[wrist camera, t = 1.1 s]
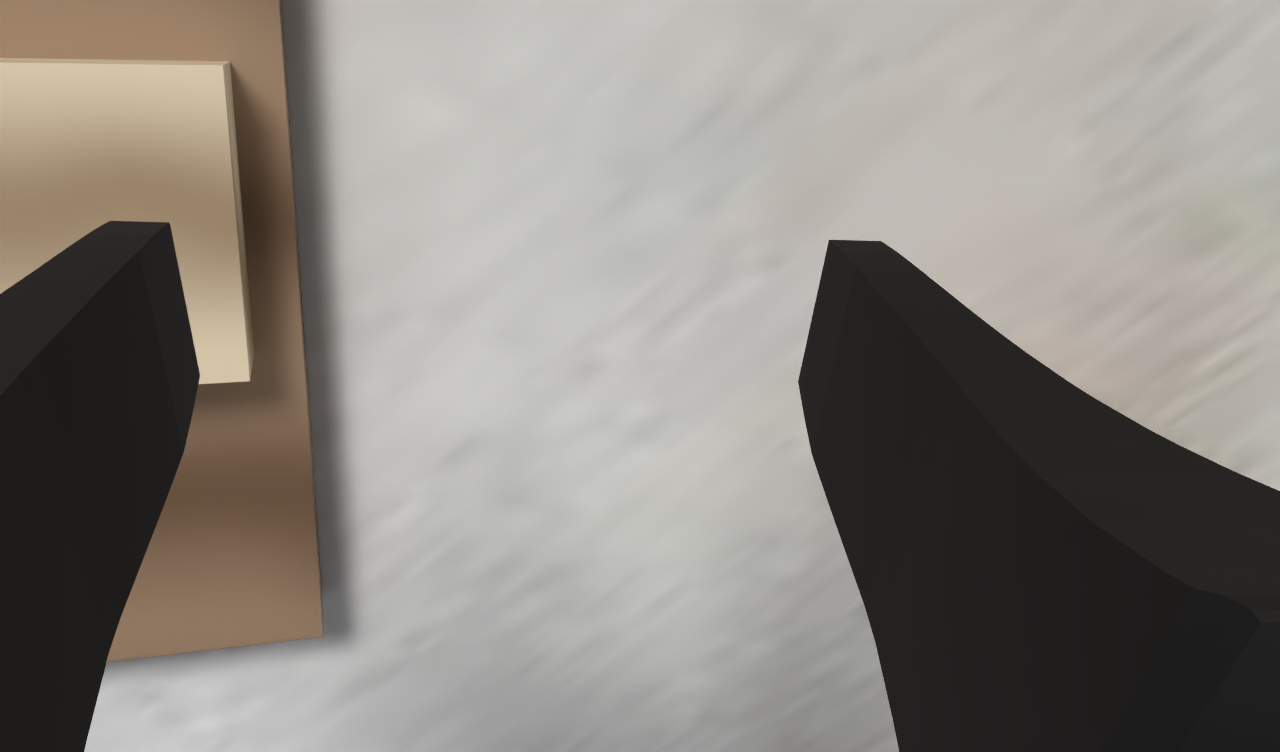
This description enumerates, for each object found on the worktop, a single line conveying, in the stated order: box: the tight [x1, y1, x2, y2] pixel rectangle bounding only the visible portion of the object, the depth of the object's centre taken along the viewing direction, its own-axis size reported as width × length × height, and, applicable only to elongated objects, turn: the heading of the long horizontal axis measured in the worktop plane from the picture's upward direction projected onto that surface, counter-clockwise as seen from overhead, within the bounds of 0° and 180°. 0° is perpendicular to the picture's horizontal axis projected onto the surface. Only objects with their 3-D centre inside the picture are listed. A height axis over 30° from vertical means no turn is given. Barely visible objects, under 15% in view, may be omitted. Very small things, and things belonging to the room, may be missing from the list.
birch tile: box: [0, 58, 254, 384], centre depth 21 cm, size 6×8×2 cm
